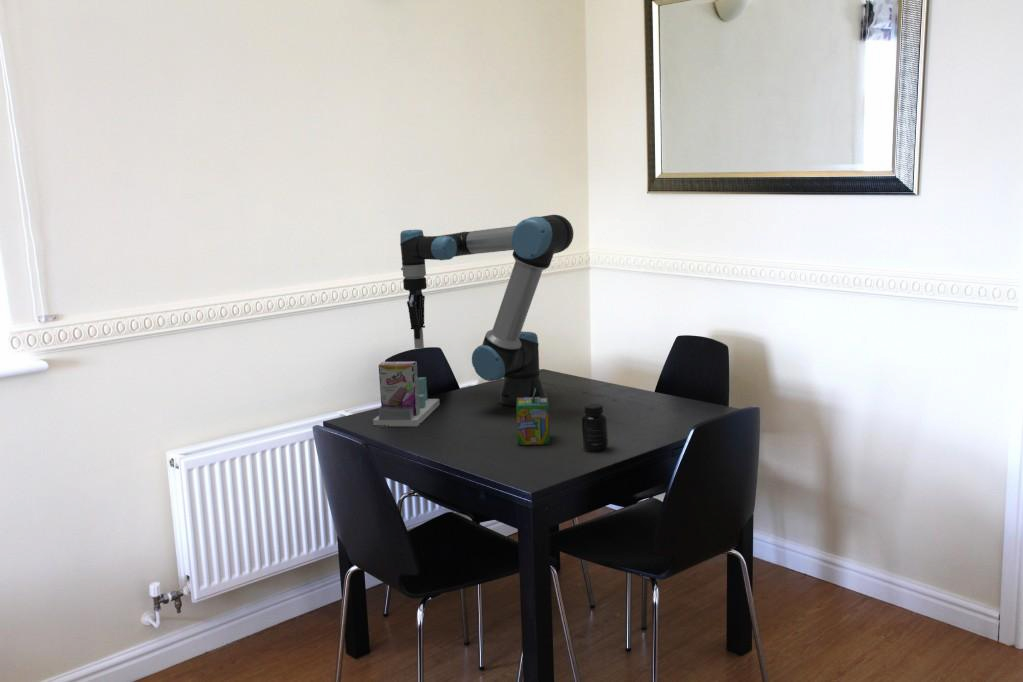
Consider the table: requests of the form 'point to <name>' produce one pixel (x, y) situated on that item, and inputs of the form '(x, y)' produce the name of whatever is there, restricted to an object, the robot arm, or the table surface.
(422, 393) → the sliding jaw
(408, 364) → the candy bar box
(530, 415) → the chalk box
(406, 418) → the base
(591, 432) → the supplement bottle
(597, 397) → the table surface
